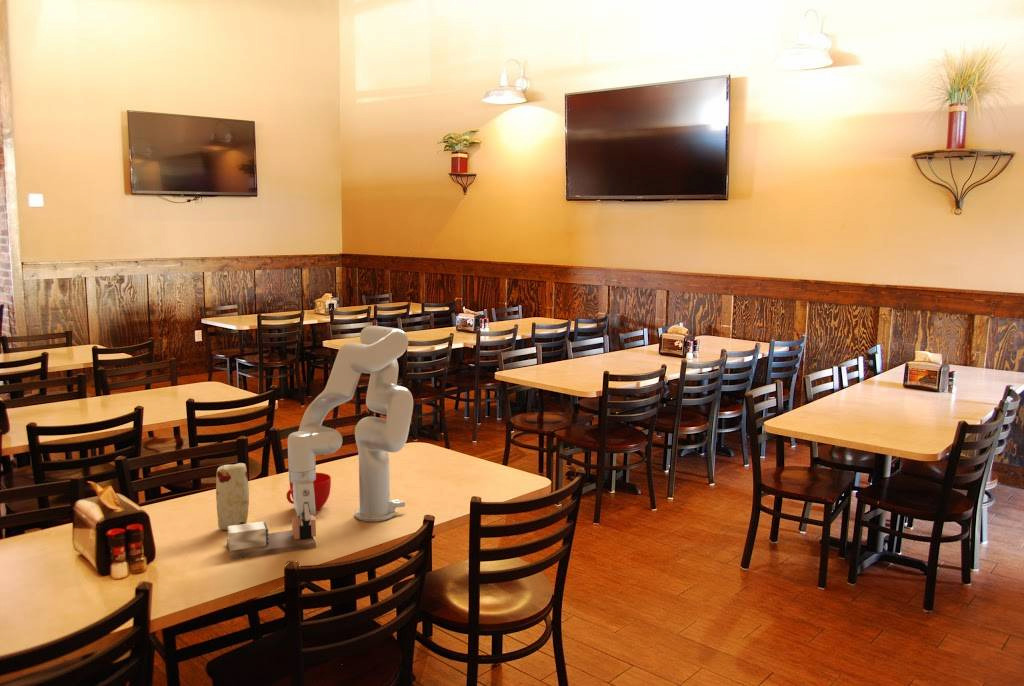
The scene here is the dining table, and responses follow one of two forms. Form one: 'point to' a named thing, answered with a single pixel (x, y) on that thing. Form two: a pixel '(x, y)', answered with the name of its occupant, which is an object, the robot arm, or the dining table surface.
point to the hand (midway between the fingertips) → (304, 535)
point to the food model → (232, 495)
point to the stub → (297, 523)
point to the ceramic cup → (317, 490)
